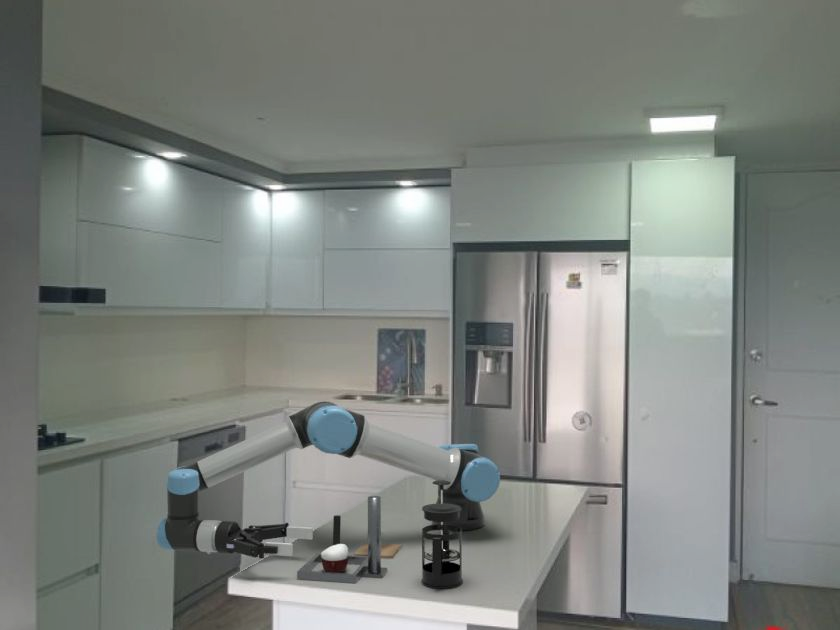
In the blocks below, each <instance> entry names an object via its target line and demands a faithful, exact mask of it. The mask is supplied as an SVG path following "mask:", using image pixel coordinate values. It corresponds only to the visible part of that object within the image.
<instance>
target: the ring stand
mask: <svg viewBox="0 0 840 630" xmlns="http://www.w3.org/2000/svg"><path fill="white" fill-rule="evenodd" d="M381 502H382V501H381V496H380V495H368V496H367V543H368V556H354V554H353V555H350V554H348V555H347V556H348V564H347V565H359V566H358V567H357V568H356V569H355V570H354V571H353V572H352V573H348V572H342V573H336V572H325V571H318V570H317V571H315V570H313V569H314V568H315V567H316V566H318V564H319V563H322V557H321V553H322V552H321V553H320V552H319V553H317V552H316V554H315V555H313V556H312V557H311V558H310V559H309V560H308V561H307V562H306V563H305V564H304V565H302V566H301V567H300V568H299V569H298V570H297V571H296V579H297V580H299V581H300V580H302V581H316V582H318V581H320V582H331V583H333V582H335V583H346V584H348V583H349V584H357V583H358V581H359V580H360V579H361V578H374V579H375V578H378V579H383V578H384V576H386V574H387V573H388V567H382V562H381V561H382V558H381V544H382V532H381V531H382V530H381V529H382V526H381V525H382V524H381V523H382V521H381V518H382V517H381V515H382V514H381V509H382V508H381V505H382V504H381Z"/></svg>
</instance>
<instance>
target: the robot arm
mask: <svg viewBox="0 0 840 630" xmlns="http://www.w3.org/2000/svg"><path fill="white" fill-rule="evenodd" d="M310 446H314V447H315V448H316V449H318V450H319V451H320V452H322V453H325V454H331V455H339V456H342V457H345V458H348V459H352V458H354V457H356V456H361V457H363V458H365V459H370V460H372V461H376V462H379V463H382V464H385V465H387V466H391V467H394V468H398V469H400V470H403V471H406V472H408V473H412V474H414V475H418V476H421V477H423V478H427V479H430V480H433V481H437V480H446V481H450V482H451V484H448V485H444V490H442V495H443V503H446V504H454V505H458V506H460V507H461V511H460V518H459V519H458V520H455V521H450V522H443V524H448V525H454V526H458V527H460V528H461V529H462V531H470V530H476V529H479V528H482V527H483V526H484V525H485V515H484V511H483V508H482V504H481V503H483V502H486V501H488V500H489V499H491V498H493V496H494V495H495V494H496V493H497V491H498V489H499V487H500V482H501V475H500V474H501V473H500V471H499V467H498V466H497V465H496V464H495V462H494V461H493V460H491V459H490V458H487V457H484V456H482V455H480V454H479V447H478V445H477V444H476V443H475V444H474V443H456V444H454V443H452V444H442V445H440V446H436V445H432V444H430V443H428V442H424V441H421V440H418V439H415V438H413V437H409V436H406V435H403V434H401V433H397V432H395V431H391V430H389V429H386V428H384V427H380V426H378V425H375V424H371V423H369V422H368V420H367V418H366V415H364V414H361V413H357V412H355V411H352V410H349V409H345V408H343V407H341V406H339V405H337V404H335V402H331V401H318V402H315V403H313V404H311V405H308V406H307V407H305V408H303V409H301V410H299V411H298V412H295V413H293V414H291V415H289V416H287V417H286V420H285V421H284V422H283V423H280V424H278V425H276V426H273V427H271V428H269V429H266V430H265V431H262V432H260V433H258V434H256V435H253V436H252V437H249V438H247V439H245V440H242V441H240V442H238V443H236V444H234V445H231V446H229V447H227V448H224V449H222V450H220V451H217V452H216V453H213V454H211V455H209V456H206V457H204V458H202V459H200V460H198V461H196V462H195V463H194V462H193V463H191V464H189V465H183V466H179V467H177V468H175V469H173V470H172V471H170V472H168V474H167V478H166V479H167V482H166V498H167V500H166V501H167V503H166V504H167V516H166V517H165V518H163V519H162V520H161V521H160V522H159V523H158V525H157V531H156V535H155V537H156V542H157V544H158V546H159V547H160V548H161V549H163V550H170V551H171V550H173V551H175V552H176V551H177V552H178V551H184V552H204V553H207V554H208V555H211V554H212V553H219V554H234V553H237V554H241V555H244V556H247V557H250V558H251V557H252V558H258V559H261V560H262V559H264V558H265V555H266V556H280V557H281V556H282V557H292V556H293V554H294V549H293V547H294V544H293V543H290V542H289V543H286V542H275V541H274V542H272V541H266V540H271V539H278V538H279V539H280V538H286V539H295V540H296V539H297V540H298V539H299V540H313V535H314V533H313V527H306V526H303V527H302V526H289V522H284V523H279V524H278V523H277V524H265V525H264V524H263V525H252V524H251V525H249V526H248V527H245V528H244V529H241V527H240V524H239V523H238V522H236V521H231V520H229V521H228V520H214V519H200V493H201V492H203V491H205V490H207V489H209V488H211V487H213V486H215V485H217V484H220V483H222V482H224V481H227V480H228V479H230V478H233V477H236V476H238V475H239V474H241V473H244V472H246V471H248V470H251V469H253V468H255V467H256V466H257V467H258V466H259V465H262V464H264V463H265V462H269V461H270V460H272V459H274V458H276V457H279V456H281V455H283V454H286V453H287V452H290V451H291V450H294V449H299V450H304V449H306V448H309V447H310ZM435 502H436V503H435V504H437V503H441V490H440V485H437V499H436V501H435ZM480 502H481V503H480ZM436 524H441V522H434V521H431V525H436ZM263 541H266V542H264V543H263Z"/></svg>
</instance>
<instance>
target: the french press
mask: <svg viewBox="0 0 840 630" xmlns="http://www.w3.org/2000/svg"><path fill="white" fill-rule="evenodd" d="M432 484H433V485H436V486H438V485H440V490H441V503H437V504H436V503H430V504H425V505H424V506H422V507H421V510H422V512H423V518H424V519H425V520H426V521H430V522H432V521H434V522H441V524H436V525H432V524H431V525H429V524H428V525H426V526H424V527H423V528H421V536H422V537H421V552H422V553H421V557H422V558H421V561H422V562H421V570H422V571H421V572H422V577H421V582H420V583H421V584H422V586H424V587H426V588H430V589H435V590H449V589H455V588H458V587H460V586H462V584H463V582H464V580H463V578H462V576H463V573H462V572H463V569H462V565H463V564H462V563H463V562H462V559H463V557H462V555H463V552H462V551H463V549H462V548H463V547H462V546H463V545H462V543H463V542H462V538H463V536H462V535H463V534H462V531H463V530H462V529H461V528H460V527H458V526H454V525H448V524H443V522H450V521H455V520H458V519H459V518H460V511H461V507H460V506H458V505H454V504H446V503H443V495H442V490H444V485H448V484H451V482H450V481H446V480H437V481H436V480H433V481H432ZM431 531H432V532H434V531H440V534H436V533H435V534H434V533H429V532H431ZM450 532H455V533H451V534H450ZM425 539H427V540H430V541H432V547H431V548H432V549H429V550H426V551H425V549H426V548H425V541H426V540H425ZM458 539H459V551H457V550H455V549H452V548H451V549H450V541H454V540H458ZM425 559H426V560H427V561H431V562H428V563H426V562H425V561H426V560H425ZM457 560H459V563H456V562H454V561H457Z"/></svg>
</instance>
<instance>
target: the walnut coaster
mask: <svg viewBox="0 0 840 630" xmlns="http://www.w3.org/2000/svg"><path fill="white" fill-rule="evenodd" d="M402 547H403V544H395V543H381V559H390V558H393V557H395V556H396V555H397V554H398V552H399V551H400V550H401V549H400V548H402ZM399 549H400V550H399ZM353 555H354V556H368V542H364V543H363V544H362V545H360V547H359V548H358V549H357V550H356V551H355V552H354V554H353ZM393 559H394V558H393Z"/></svg>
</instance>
